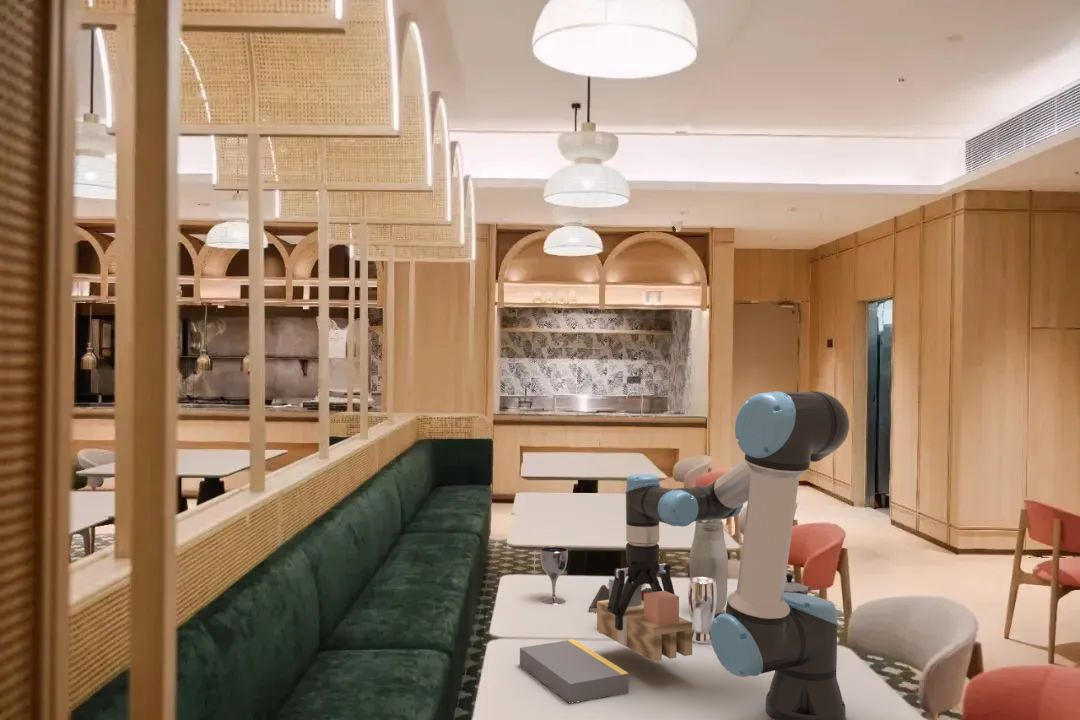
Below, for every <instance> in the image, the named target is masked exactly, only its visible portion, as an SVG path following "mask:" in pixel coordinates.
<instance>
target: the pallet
mask: <svg viewBox="0 0 1080 720" xmlns="http://www.w3.org/2000/svg"><path fill="white" fill-rule="evenodd" d="M608 603H609V600H603V601H597V613H596V632H598V633H600V634H602V635H604V636H605V637H608V638H610V639H611V640H613V641H615V642H617V643H618V630H617V629H616V628H615V615H614V614H612V613H610V612H608V611H607V607H608ZM624 615H625V616H627V646H625V647H626V648H628V649H630V650H631V651H634V652H635V653H637V654H639V655H641V656H643V657H644V658H647V659H649V661H652V662H659V661H662V660H663V657H666V658H668V659H676V658H677V654H680V655H682V656H684V657H687V656H693V641H692V622H691V621H690V620H687V619H685V618H683V617H681V616H679V622H674V623H667V624H661V625H657V624H655V623H653V622H651V621H649V620H646V619H644V601H642V605H639V606H632V607H627V609H626V611H625V613H624ZM662 655H663V656H662Z"/></svg>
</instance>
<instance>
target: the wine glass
mask: <svg viewBox="0 0 1080 720" xmlns="http://www.w3.org/2000/svg"><path fill="white" fill-rule="evenodd" d="M539 550H540V552H539V553H540V564H541V567H542V569H543V571H544V572H545V573H546V575H547V576H548V577H549V579H550V581H551V591H552V593H551V596H550V597H544V598H542V599H541V600H540V601H541V602H542V603H543V604H547V605H562V604H565V603H566V602H567V600H566V599H565V598H562V597H557V596H556V586H557V585H556V584H557V581H558V579H559V577H560V576H561V575H562V574H563V572H564V571H565V570H566V568H567V563H568V559H569V558H568V557H569V555H568V554H569V550H568V547H566V546H565V547H564V546H558V545H547V546H543V547H540V549H539Z"/></svg>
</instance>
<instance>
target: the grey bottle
mask: <svg viewBox="0 0 1080 720" xmlns="http://www.w3.org/2000/svg"><path fill="white" fill-rule="evenodd" d="M694 525H695V528H694V533H693V534H694V535H693V540H692V543H691V547H690V552H689V579H690V578H692V577H709V578H713V579H715V580H716V590H717V603H716V610H715V615H714V616H716V615H718V614H721V612H722V611H723V610H724V608H725V606H726V605H727V598H728V578H729V577H728V575H729V574H728V573H729V558H728V557H729V556H728V555H729V554H728V550H727V545H726V540H725V533H724V522H723V519H713V520H702V521H695V524H694Z"/></svg>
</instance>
